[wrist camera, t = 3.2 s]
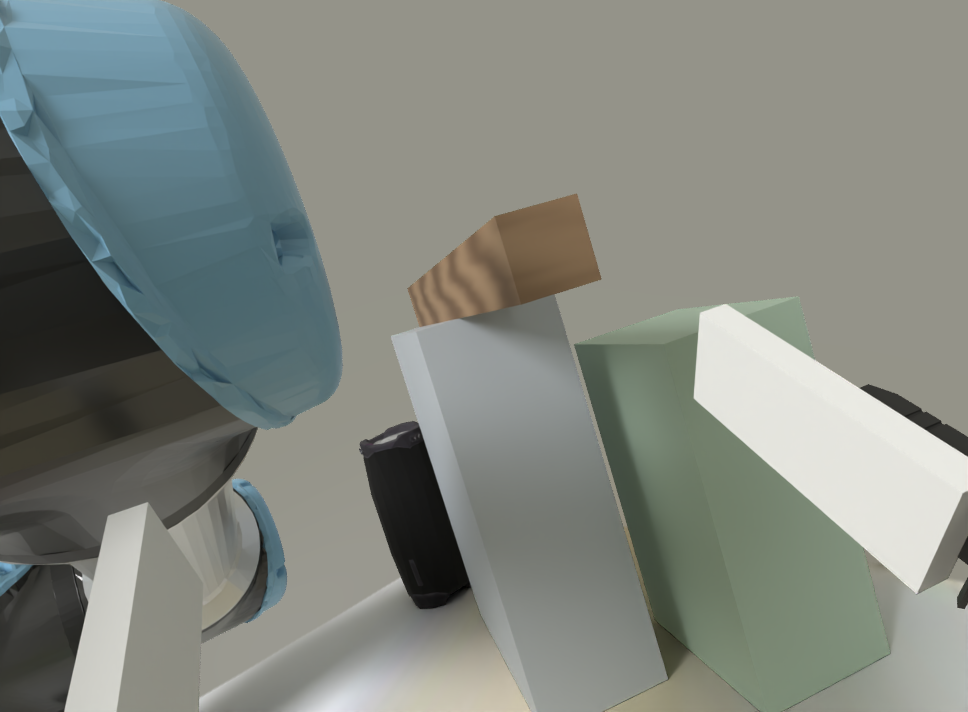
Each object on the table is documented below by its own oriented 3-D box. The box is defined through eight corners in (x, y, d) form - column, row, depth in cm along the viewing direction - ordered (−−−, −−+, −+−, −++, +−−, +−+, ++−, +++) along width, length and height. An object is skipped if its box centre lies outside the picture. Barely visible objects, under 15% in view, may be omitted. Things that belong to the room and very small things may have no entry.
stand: (668, 679, 44) (552, 289, 41) (546, 739, 42) (416, 331, 39) (567, 576, 64) (484, 307, 61) (480, 614, 61) (390, 336, 59)
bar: (601, 279, 27) (576, 193, 27) (521, 304, 26) (494, 216, 26) (457, 315, 60) (445, 277, 60) (419, 327, 59) (407, 288, 59)
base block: (890, 653, 40) (798, 296, 38) (768, 718, 38) (663, 344, 36) (750, 575, 54) (677, 309, 52) (655, 620, 52) (573, 344, 49)
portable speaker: (442, 567, 76) (395, 421, 74) (495, 574, 69) (445, 415, 67) (391, 605, 69) (339, 447, 68) (444, 617, 63) (388, 443, 61)
